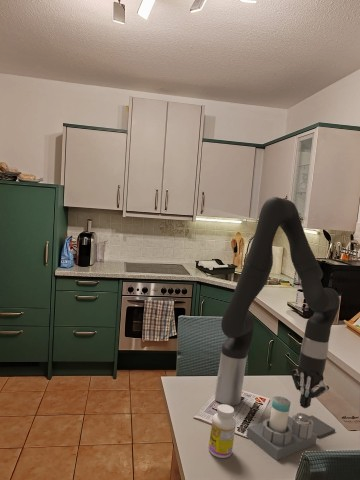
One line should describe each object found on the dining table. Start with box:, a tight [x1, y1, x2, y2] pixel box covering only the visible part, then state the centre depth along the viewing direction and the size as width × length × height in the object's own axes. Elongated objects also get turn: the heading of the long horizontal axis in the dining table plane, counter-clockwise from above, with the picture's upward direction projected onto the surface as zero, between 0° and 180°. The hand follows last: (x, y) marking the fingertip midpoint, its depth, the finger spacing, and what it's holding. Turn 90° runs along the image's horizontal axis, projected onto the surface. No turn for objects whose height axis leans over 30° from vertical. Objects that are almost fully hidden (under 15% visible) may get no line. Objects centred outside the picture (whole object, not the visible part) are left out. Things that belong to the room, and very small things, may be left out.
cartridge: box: [269, 395, 291, 433], centre depth 112 cm, size 5×5×11 cm
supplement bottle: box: [208, 403, 237, 459], centre depth 106 cm, size 7×7×13 cm
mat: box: [308, 414, 336, 439], centre depth 125 cm, size 9×9×1 cm
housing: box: [246, 414, 318, 461], centre depth 115 cm, size 18×12×7 cm, turn 124°
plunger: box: [296, 412, 310, 425], centre depth 115 cm, size 4×4×5 cm
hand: (304, 406), depth 115 cm, fingers closed
